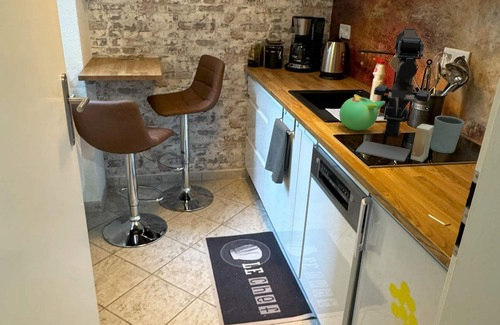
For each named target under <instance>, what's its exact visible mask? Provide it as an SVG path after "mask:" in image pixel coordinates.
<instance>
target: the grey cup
mask: <svg viewBox="0 0 500 325" xmlns="http://www.w3.org/2000/svg"><path fill="white" fill-rule="evenodd" d="M464 125H465V121H464V120H463V119H461V118H459V117H456V116H448V115H438V116H435V117H434V123H433V126H434V128H433V133H432V138H431V142H430V149H431V150H432V151H434V152H437V153H441V154H453V153H454V152H455V150H456V147H457V143H458V142H459V138H460V134H461V132H462V130H463V128H464Z"/></svg>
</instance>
